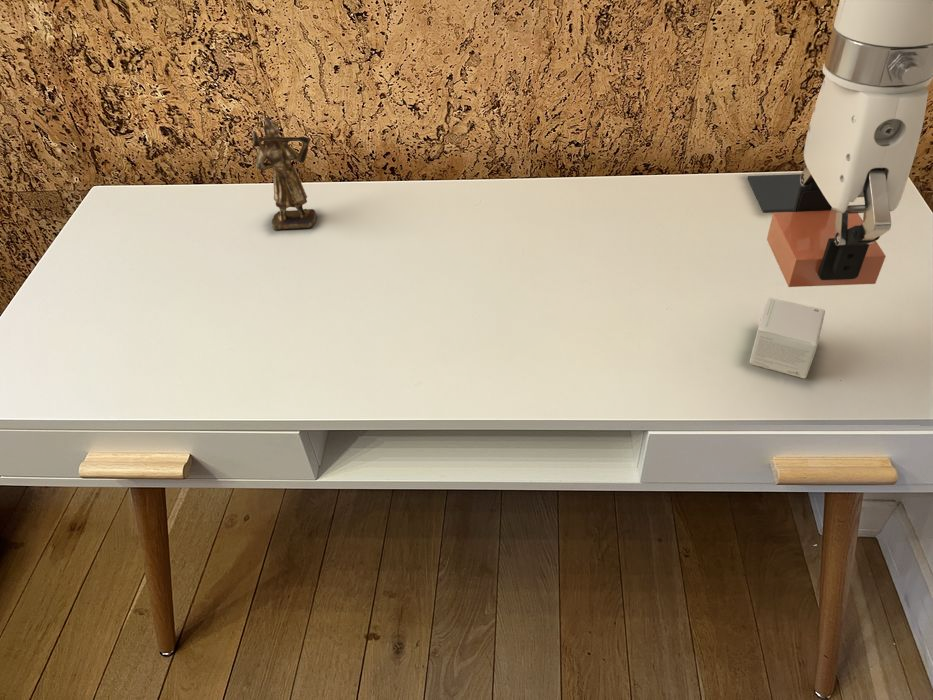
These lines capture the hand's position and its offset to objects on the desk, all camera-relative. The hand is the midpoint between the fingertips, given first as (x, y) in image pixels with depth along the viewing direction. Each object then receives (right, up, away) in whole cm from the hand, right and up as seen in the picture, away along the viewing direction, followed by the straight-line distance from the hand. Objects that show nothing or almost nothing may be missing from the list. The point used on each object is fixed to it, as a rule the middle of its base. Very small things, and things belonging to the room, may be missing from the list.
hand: (822, 249), depth 66 cm
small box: (0, -10, +10) cm, 14 cm away
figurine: (-55, +8, +33) cm, 65 cm away
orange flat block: (0, -1, +1) cm, 1 cm away
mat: (+10, +12, +31) cm, 35 cm away
